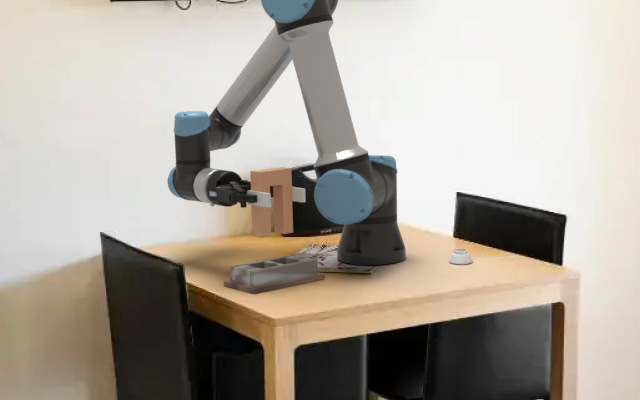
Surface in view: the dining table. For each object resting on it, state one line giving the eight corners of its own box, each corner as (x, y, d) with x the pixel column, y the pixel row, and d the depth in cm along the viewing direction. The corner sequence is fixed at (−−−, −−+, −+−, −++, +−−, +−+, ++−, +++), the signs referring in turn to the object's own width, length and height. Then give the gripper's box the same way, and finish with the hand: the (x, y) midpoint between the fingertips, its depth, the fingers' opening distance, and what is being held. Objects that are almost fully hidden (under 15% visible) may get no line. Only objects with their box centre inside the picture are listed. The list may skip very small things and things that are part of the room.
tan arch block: (252, 235, 212) (250, 171, 210) (283, 230, 217) (282, 167, 215) (261, 237, 210) (259, 172, 208) (293, 232, 215) (291, 168, 213)
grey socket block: (223, 285, 213) (223, 266, 212) (293, 271, 224) (293, 253, 224) (254, 294, 205) (253, 273, 205) (324, 278, 217) (324, 259, 216)
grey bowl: (444, 262, 231) (456, 266, 226) (444, 249, 230) (455, 253, 225) (465, 260, 232) (476, 264, 228) (465, 246, 232) (476, 250, 227)
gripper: (259, 199, 233) (327, 210, 216) (178, 210, 219) (244, 223, 202) (258, 165, 232) (326, 173, 215) (177, 174, 218) (243, 184, 201)
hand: (286, 198), depth 208 cm, fingers closed on tan arch block, 8 cm apart
